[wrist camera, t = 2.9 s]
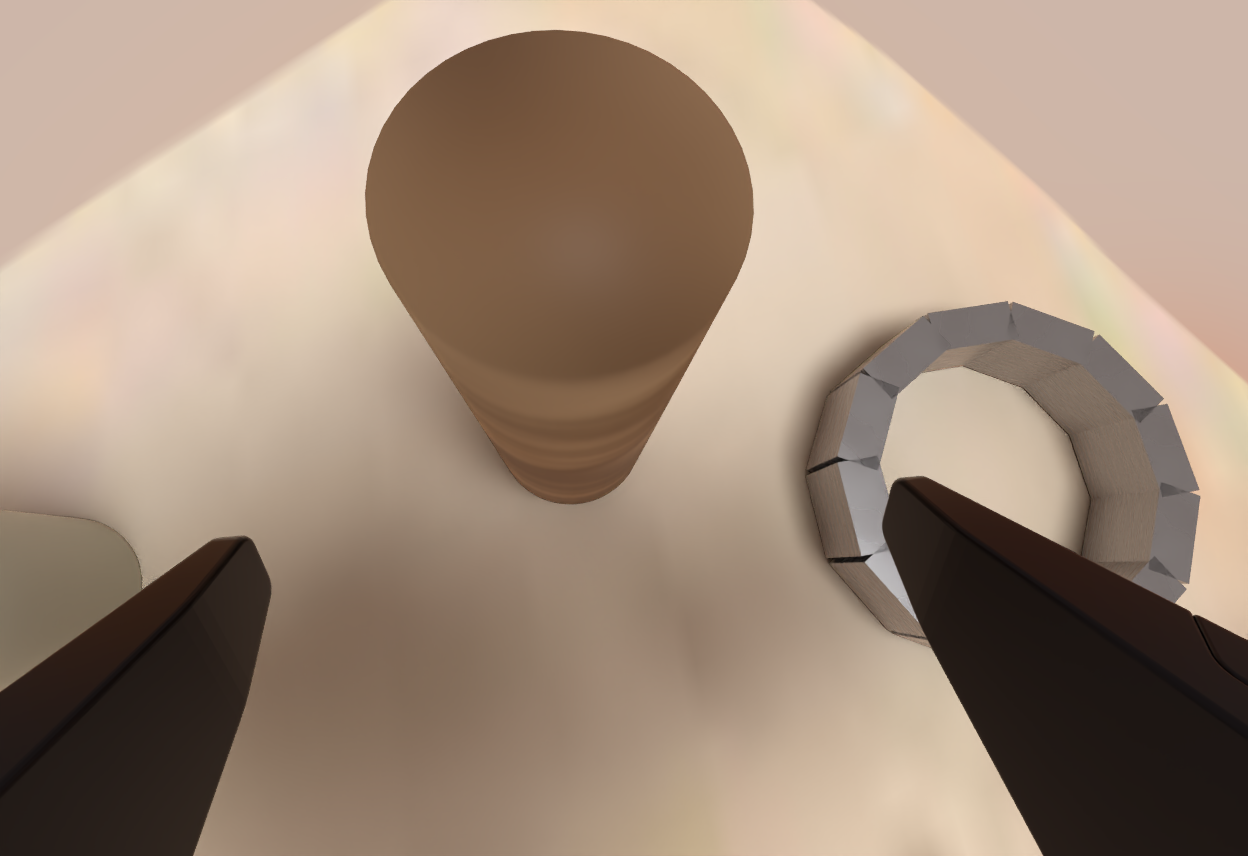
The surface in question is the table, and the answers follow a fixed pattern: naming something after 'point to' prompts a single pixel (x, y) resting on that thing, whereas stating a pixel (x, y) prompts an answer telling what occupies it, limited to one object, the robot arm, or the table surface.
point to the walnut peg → (561, 242)
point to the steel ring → (1068, 391)
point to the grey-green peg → (56, 584)
